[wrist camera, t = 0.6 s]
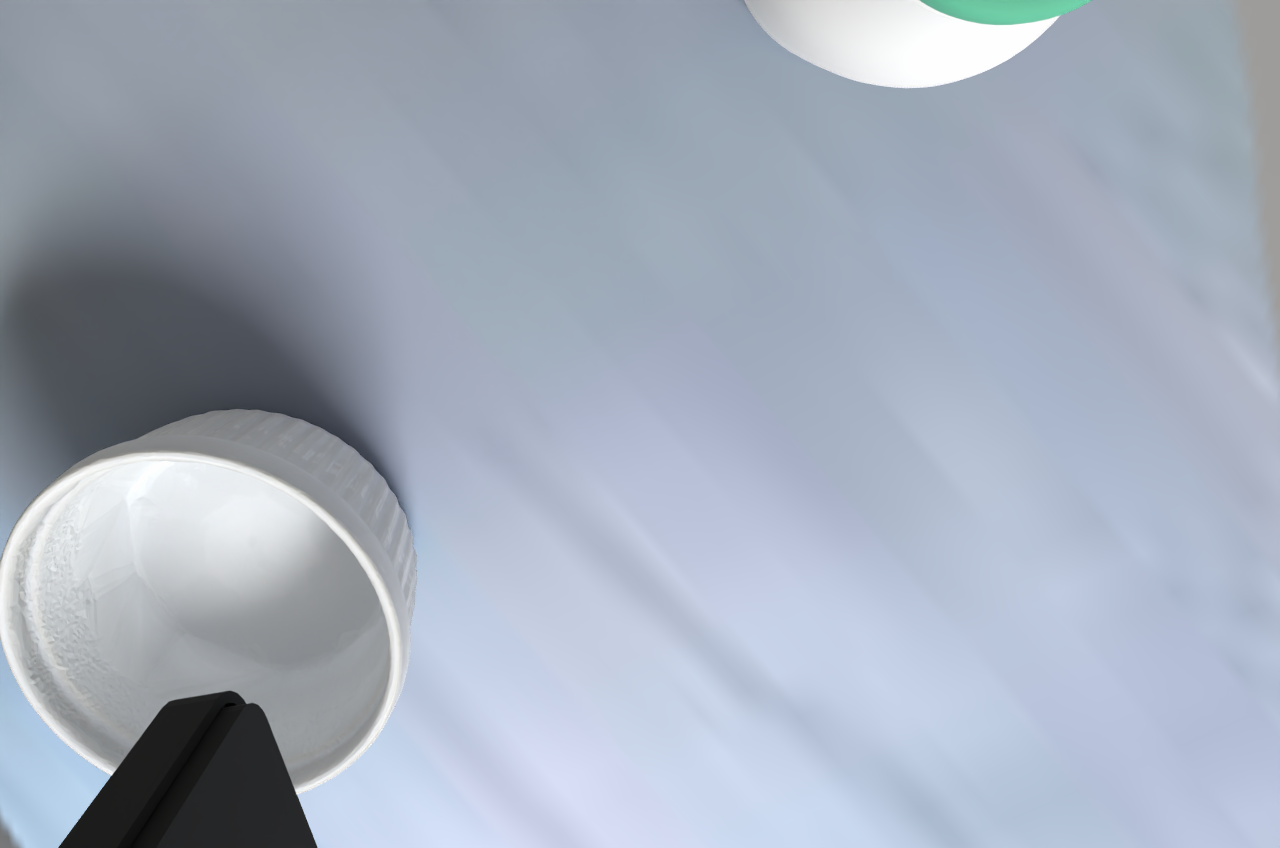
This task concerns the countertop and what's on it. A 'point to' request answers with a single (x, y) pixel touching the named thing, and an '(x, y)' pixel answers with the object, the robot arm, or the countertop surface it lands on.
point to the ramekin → (214, 589)
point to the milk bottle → (907, 35)
